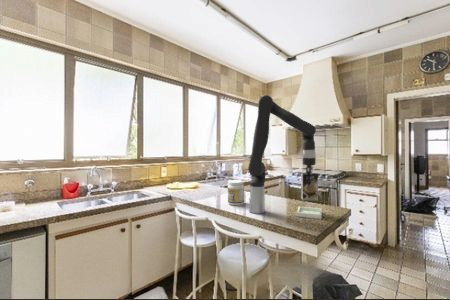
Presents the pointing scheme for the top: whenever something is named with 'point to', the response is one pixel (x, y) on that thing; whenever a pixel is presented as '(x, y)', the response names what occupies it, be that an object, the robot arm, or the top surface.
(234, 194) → the supplement tub
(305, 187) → the coffee box
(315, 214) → the holder tray
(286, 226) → the top surface
